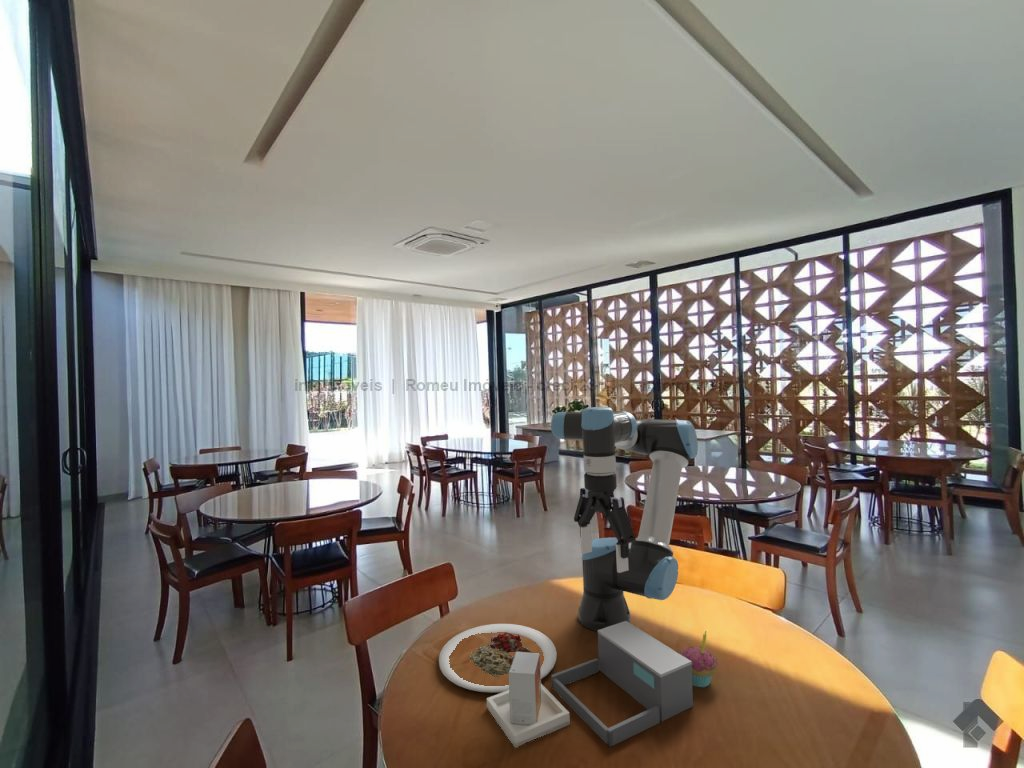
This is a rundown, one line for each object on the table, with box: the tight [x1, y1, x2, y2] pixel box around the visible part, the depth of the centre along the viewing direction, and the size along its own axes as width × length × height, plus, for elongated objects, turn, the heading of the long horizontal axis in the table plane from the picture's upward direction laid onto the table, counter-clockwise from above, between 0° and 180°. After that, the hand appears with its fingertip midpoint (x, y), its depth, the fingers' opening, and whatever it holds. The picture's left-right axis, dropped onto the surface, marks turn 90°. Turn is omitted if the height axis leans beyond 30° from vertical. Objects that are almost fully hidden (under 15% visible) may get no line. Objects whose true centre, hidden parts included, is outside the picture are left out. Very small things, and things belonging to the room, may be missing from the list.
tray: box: [486, 683, 571, 748], centre depth 99 cm, size 13×13×2 cm
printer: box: [550, 621, 694, 748], centre depth 105 cm, size 21×23×10 cm
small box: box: [509, 652, 542, 725], centre depth 100 cm, size 8×6×10 cm
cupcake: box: [678, 630, 718, 688], centre depth 109 cm, size 9×8×12 cm
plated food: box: [438, 623, 558, 694], centre depth 121 cm, size 30×30×3 cm
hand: (603, 561), depth 112 cm, fingers open, 13 cm apart
